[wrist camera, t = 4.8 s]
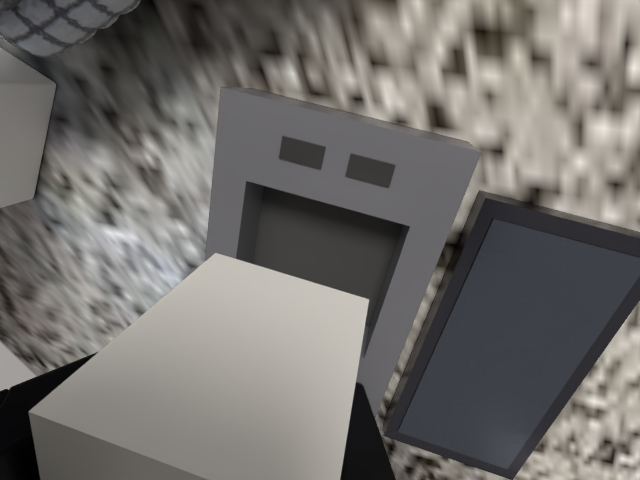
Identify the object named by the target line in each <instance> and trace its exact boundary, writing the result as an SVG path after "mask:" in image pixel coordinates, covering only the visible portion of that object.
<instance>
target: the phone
mask: <svg viewBox="0 0 640 480" xmlns="http://www.w3.org/2000/svg"><path fill="white" fill-rule="evenodd" d="M639 300H640V232H637V231H634V230H630V229H626V228H622V227H618V226H614V225H611V224H607V223H603V222H599V221H595V220H591V219H588V218H584V217H580V216H576V215H572V214H568V213H565V212H561V211H557V210H553V209H549V208H545V207H542V206H538V205H534V204H530V203H526V202H522V201H519V200H515V199H511V198H507V197H503V196H499V195H496V194H492V193H488V192H484V191H479V193H478V195H477V198H476V200H475V203H474V205H473V207H472V210H471V212H470V215H469V217H468V219H467V222H466V224H465V227H464V229H463V231H462V234H461V236H460V239H459V241H458V243H457V246H456V248H455V251H454V253H453V255H452V258H451V260H450V263H449V265H448V267H447V270H446V272H445V275H444V277H443V279H442V282H441V284H440V287H439V289H438V291H437V294H436V296H435V298H434V301H433V303H432V306H431V308H430V310H429V313H428V315H427V318H426V320H425V322H424V325H423V327H422V330H421V332H420V334H419V337H418V339H417V342H416V344H415V346H414V349H413V351H412V354H411V356H410V358H409V361H408V363H407V366H406V368H405V370H404V373H403V375H402V378H401V380H400V382H399V385H398V387H397V389H396V392H395V394H394V397H393V399H392V401H391V404H390V406H389V409H388V411H387V413H386V416H385V418H384V436H386V437H389V438H392V439H394V440H397V441H400V442H403V443H406V444H409V445H412V446H415V447H418V448H421V449H424V450H426V451H429V452H432V453H435V454H438V455H441V456H444V457H447V458H450V459H453V460H456V461H458V462H461V463H464V464H467V465H470V466H473V467H476V468H479V469H482V470H485V471H488V472H490V473H493V474H496V475H499V476H502V477H505V478H508V479H511V480H513V478H514V477H515V476H516V474H517V473H518V471H519V470H520V468H521V467H522V466H523V464H524V463H525V461H526V460H527V459H528V457H529V456H530V454H531V453H532V451H533V450H534V449H535V447H536V446H537V444H538V443H539V442H540V440H541V439H542V437H543V436H544V435H545V433H546V432H547V430H548V429H549V427H550V426H551V425H552V423H553V422H554V420H555V419H556V418H557V416H558V415H559V413H560V412H561V410H562V409H563V408H564V406H565V405H566V403H567V402H568V401H569V399H570V398H571V396H572V395H573V393H574V392H575V391H576V389H577V388H578V386H579V385H580V384H581V382H582V381H583V379H584V378H585V377H586V375H587V374H588V372H589V371H590V369H591V368H592V367H593V365H594V364H595V362H596V361H597V360H598V358H599V357H600V355H601V354H602V352H603V351H604V350H605V348H606V347H607V345H608V344H609V343H610V341H611V340H612V338H613V337H614V335H615V334H616V333H617V331H618V330H619V328H620V327H621V326H622V324H623V323H624V321H625V320H626V319H627V317H628V316H629V314H630V313H631V311H632V310H633V309H634V307H635V306H636V304H637V303H638V302H639Z"/></svg>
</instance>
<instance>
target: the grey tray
mask: <svg viewBox="0 0 640 480" xmlns="http://www.w3.org/2000/svg"><path fill="white" fill-rule="evenodd" d="M480 155H481V151H480V150H478V149H477V148H476V147H474V146H473V145H472V144H470V143H469V142H467V141H463V140H459V139H455V138H451V137H447V136H443V135H439V134H435V133H431V132H427V131H423V130H419V129H414V128H410V127H406V126H402V125H398V124H394V123H390V122H386V121H382V120H378V119H374V118H370V117H366V116H362V115H358V114H354V113H350V112H346V111H342V110H338V109H334V108H330V107H325V106H321V105H317V104H313V103H309V102H305V101H301V100H297V99H293V98H289V97H285V96H281V95H277V94H273V93H269V92H265V91H261V90H257V89H253V88H235V87H221V90H220V101H219V112H218V123H217V134H216V145H215V156H214V167H213V178H212V189H211V200H210V211H209V222H208V233H207V244H206V256H205V261H206V260H208V259H209V258H210V257H211V256H212V255H214V254H215V253H218V254H221V255H225V256H228V257H231V258H235V259H238V260H241V261H244V262H248V263H251V264H254V265H258V266H261V267H264V268H267V269H271V270H274V271H277V272H281V273H284V274H287V275H290V276H294V277H297V278H300V279H304V280H307V281H310V282H313V283H317V284H320V285H323V286H327V287H330V288H333V289H337V290H340V291H343V292H346V293H350V294H353V295H356V296H360V297H363V298H366V299H369V304H368V310H367V316H366V322H365V328H364V335H363V341H362V347H361V353H360V359H359V366H358V372H357V378H356V382H358V383H361V384H362V385H363V386H364V388H365V391H366V394H367V397H368V400H369V403H370V406H371V409H372V412H373V415H374V416H375V417H376V414H377V412H378V409H379V407H380V404H381V402H382V399H383V397H384V394H385V392H386V389H387V387H388V384H389V382H390V379H391V377H392V374H393V372H394V369H395V367H396V364H397V362H398V359H399V357H400V354H401V352H402V349H403V347H404V344H405V342H406V339H407V337H408V334H409V332H410V329H411V327H412V324H413V322H414V319H415V317H416V314H417V312H418V309H419V307H420V304H421V302H422V299H423V297H424V294H425V292H426V289H427V287H428V284H429V282H430V279H431V277H432V274H433V272H434V269H435V267H436V264H437V262H438V259H439V257H440V254H441V252H442V250H443V247H444V245H445V242H446V240H447V237H448V235H449V232H450V230H451V227H452V225H453V222H454V220H455V217H456V215H457V212H458V210H459V207H460V205H461V202H462V200H463V197H464V195H465V192H466V190H467V187H468V185H469V182H470V180H471V177H472V175H473V172H474V170H475V167H476V165H477V162H478V160H479V157H480Z"/></svg>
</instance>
